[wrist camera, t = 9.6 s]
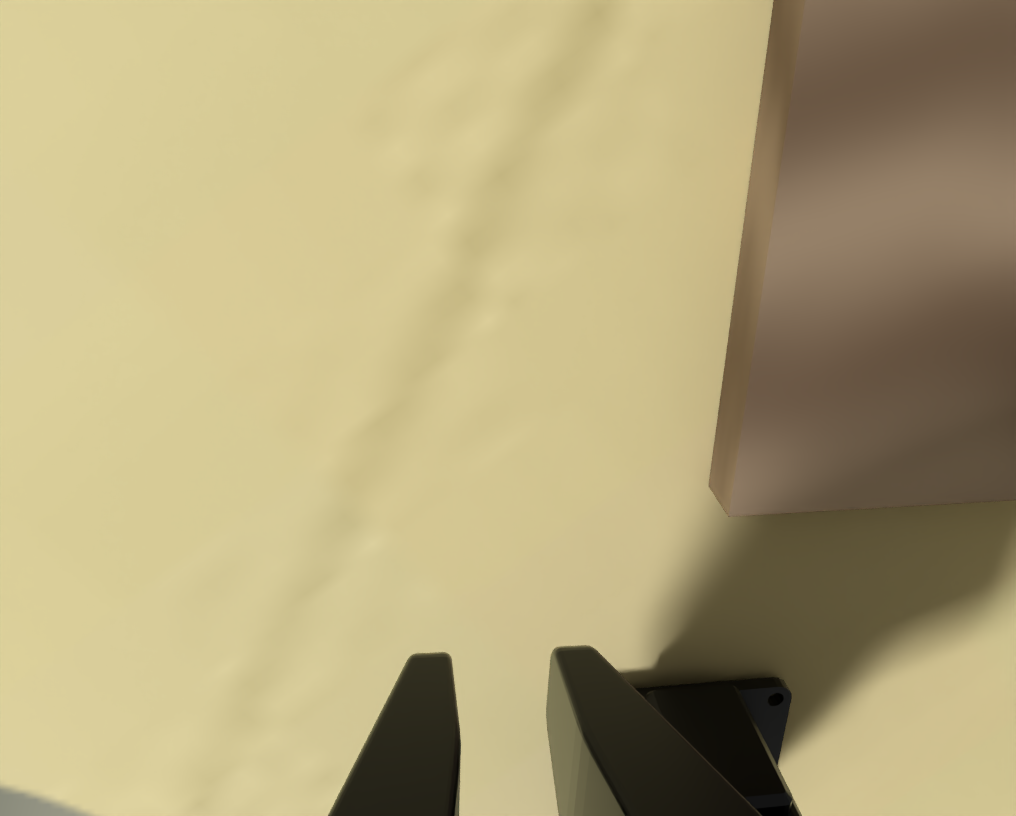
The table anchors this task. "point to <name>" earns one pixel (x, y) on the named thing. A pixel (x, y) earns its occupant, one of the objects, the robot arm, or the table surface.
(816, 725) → the table surface
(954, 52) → the board
